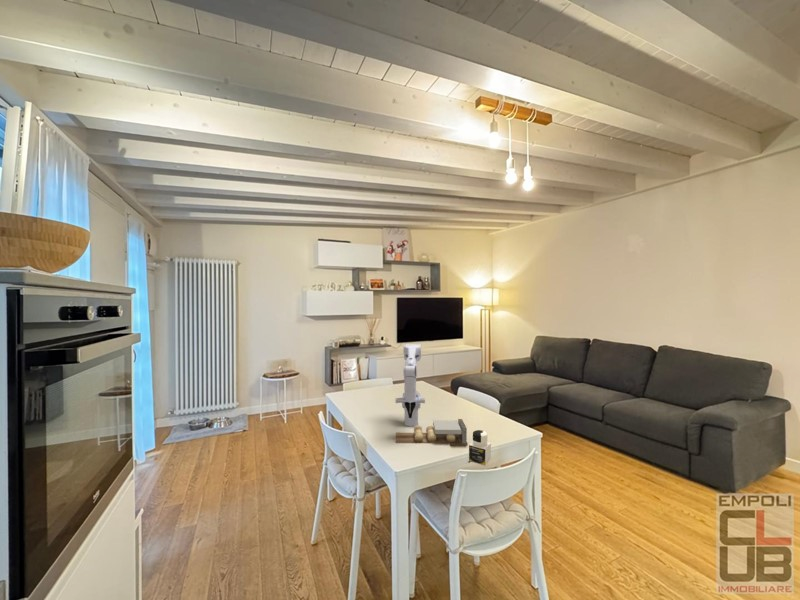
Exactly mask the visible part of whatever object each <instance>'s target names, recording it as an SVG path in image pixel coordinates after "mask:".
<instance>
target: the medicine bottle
mask: <svg viewBox="0 0 800 600" xmlns="http://www.w3.org/2000/svg"><path fill="white" fill-rule="evenodd" d="M491 454H492V443H491V442H489V441H488V433H487V432H486V431H485V430H480V429H476V430H473V432H472V441H471V442H470V443H469V444H468V461H469V462H470V463H475V464H477V465H481V466H487V464H488V463H489V462H490V461H491V459H492V455H491Z"/></svg>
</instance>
